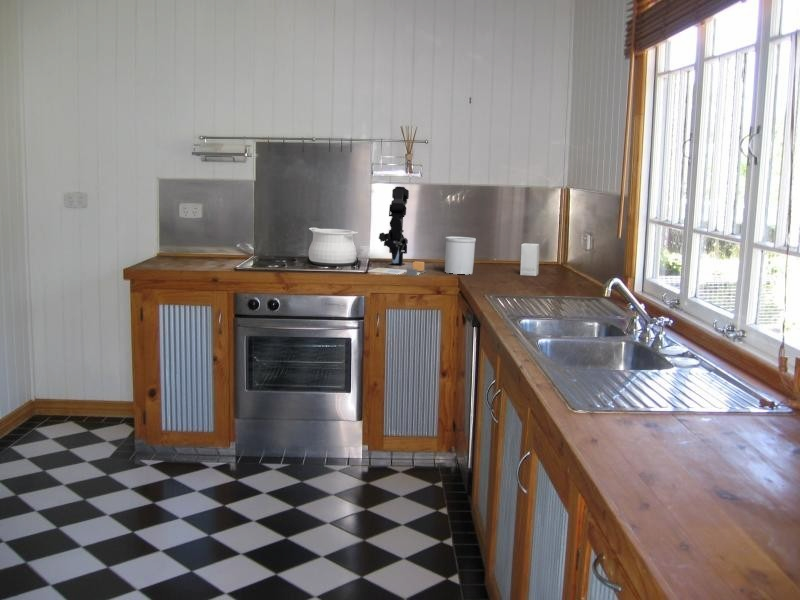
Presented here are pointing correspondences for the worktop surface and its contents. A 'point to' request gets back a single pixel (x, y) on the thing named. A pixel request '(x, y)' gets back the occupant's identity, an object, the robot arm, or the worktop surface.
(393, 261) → the marker
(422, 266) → the orange cube
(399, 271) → the sheet
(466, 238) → the utensil holder
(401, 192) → the robot arm
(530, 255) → the skincare box
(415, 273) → the switch base
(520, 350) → the worktop surface
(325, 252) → the pot
